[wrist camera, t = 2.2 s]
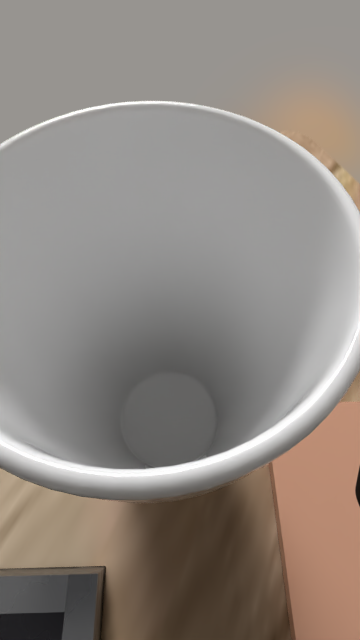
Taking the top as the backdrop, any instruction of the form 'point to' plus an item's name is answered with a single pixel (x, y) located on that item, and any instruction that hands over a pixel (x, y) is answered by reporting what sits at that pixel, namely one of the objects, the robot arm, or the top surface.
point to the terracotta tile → (321, 528)
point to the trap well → (51, 603)
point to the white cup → (168, 300)
